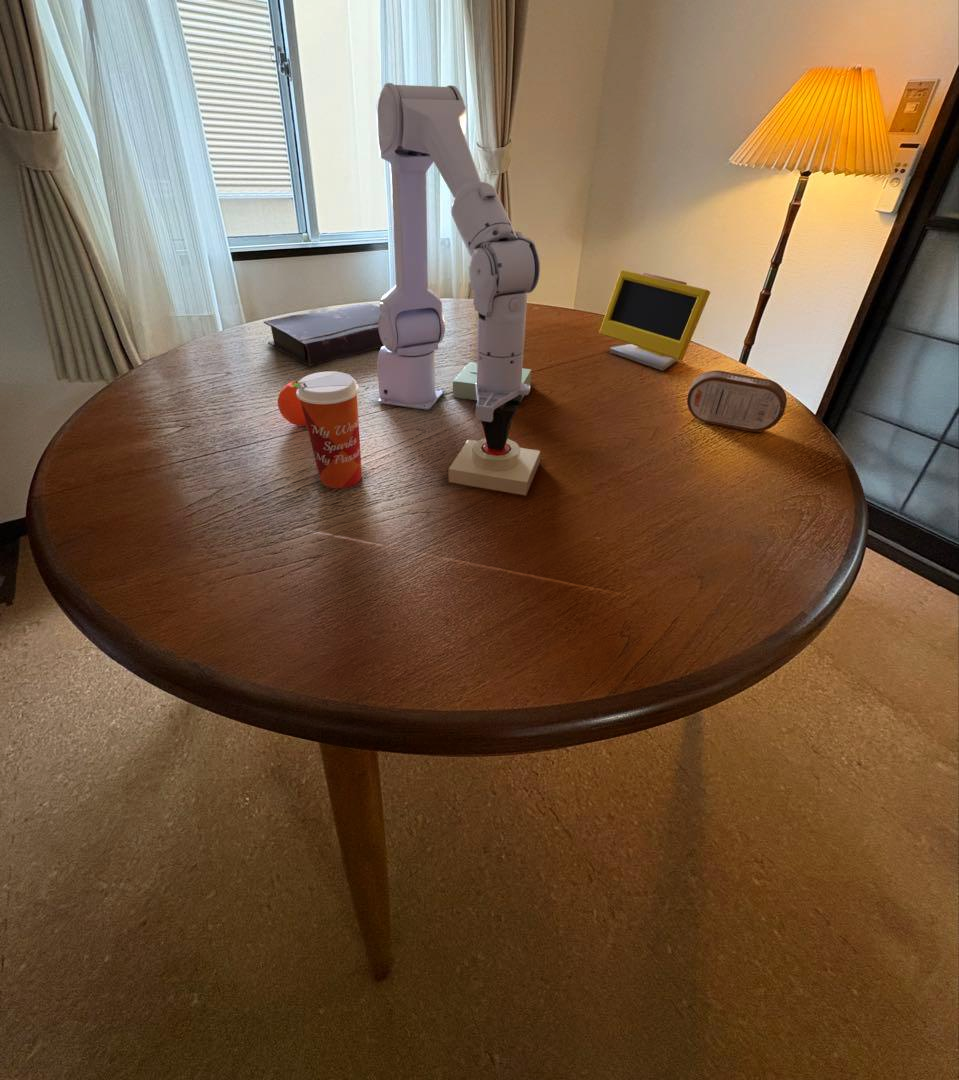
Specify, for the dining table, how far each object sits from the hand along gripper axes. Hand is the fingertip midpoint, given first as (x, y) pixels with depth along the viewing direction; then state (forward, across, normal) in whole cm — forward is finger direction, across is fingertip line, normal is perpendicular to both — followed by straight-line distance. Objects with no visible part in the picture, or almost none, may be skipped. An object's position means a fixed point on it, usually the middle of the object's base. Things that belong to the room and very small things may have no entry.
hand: (496, 447), depth 77 cm
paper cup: (+4, -8, +20) cm, 22 cm away
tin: (+4, +27, -33) cm, 43 cm away
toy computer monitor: (+4, +55, -18) cm, 58 cm away
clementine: (+4, +5, +33) cm, 34 cm away
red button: (+2, 0, 0) cm, 2 cm away
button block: (+4, 0, 0) cm, 4 cm away
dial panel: (+4, +28, +8) cm, 29 cm away
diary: (+4, +42, +46) cm, 62 cm away
